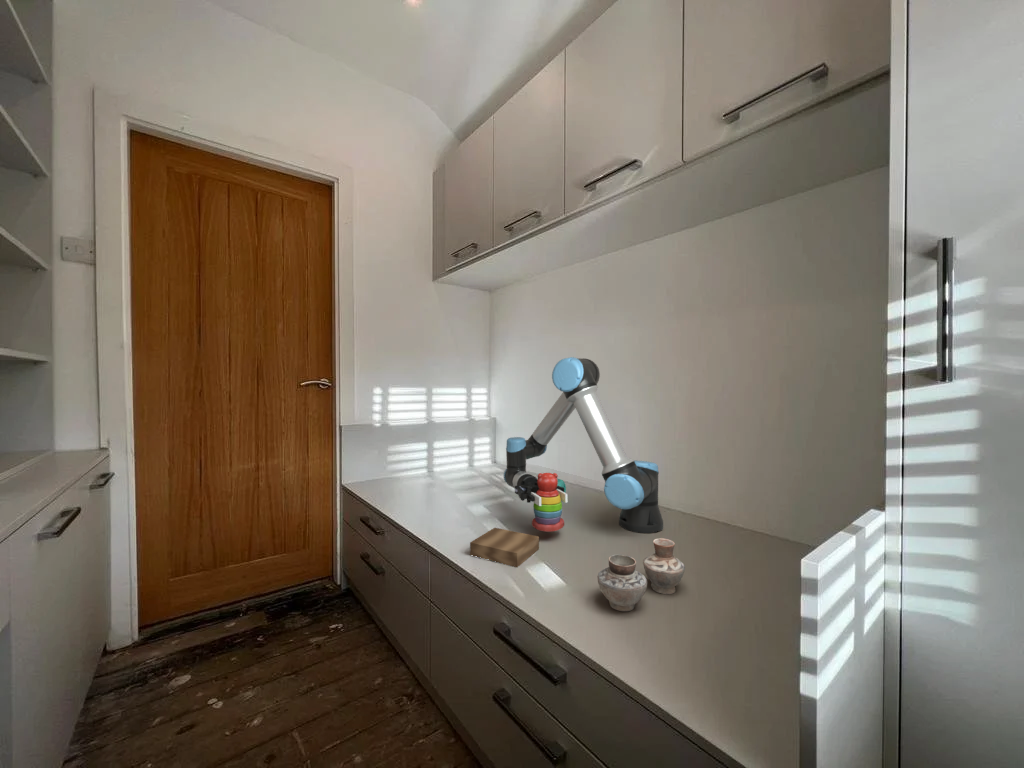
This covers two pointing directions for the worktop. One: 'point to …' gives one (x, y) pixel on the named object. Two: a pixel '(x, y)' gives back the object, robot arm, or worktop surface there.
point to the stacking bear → (548, 504)
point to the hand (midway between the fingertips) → (553, 499)
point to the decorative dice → (561, 484)
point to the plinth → (505, 546)
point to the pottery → (640, 576)
